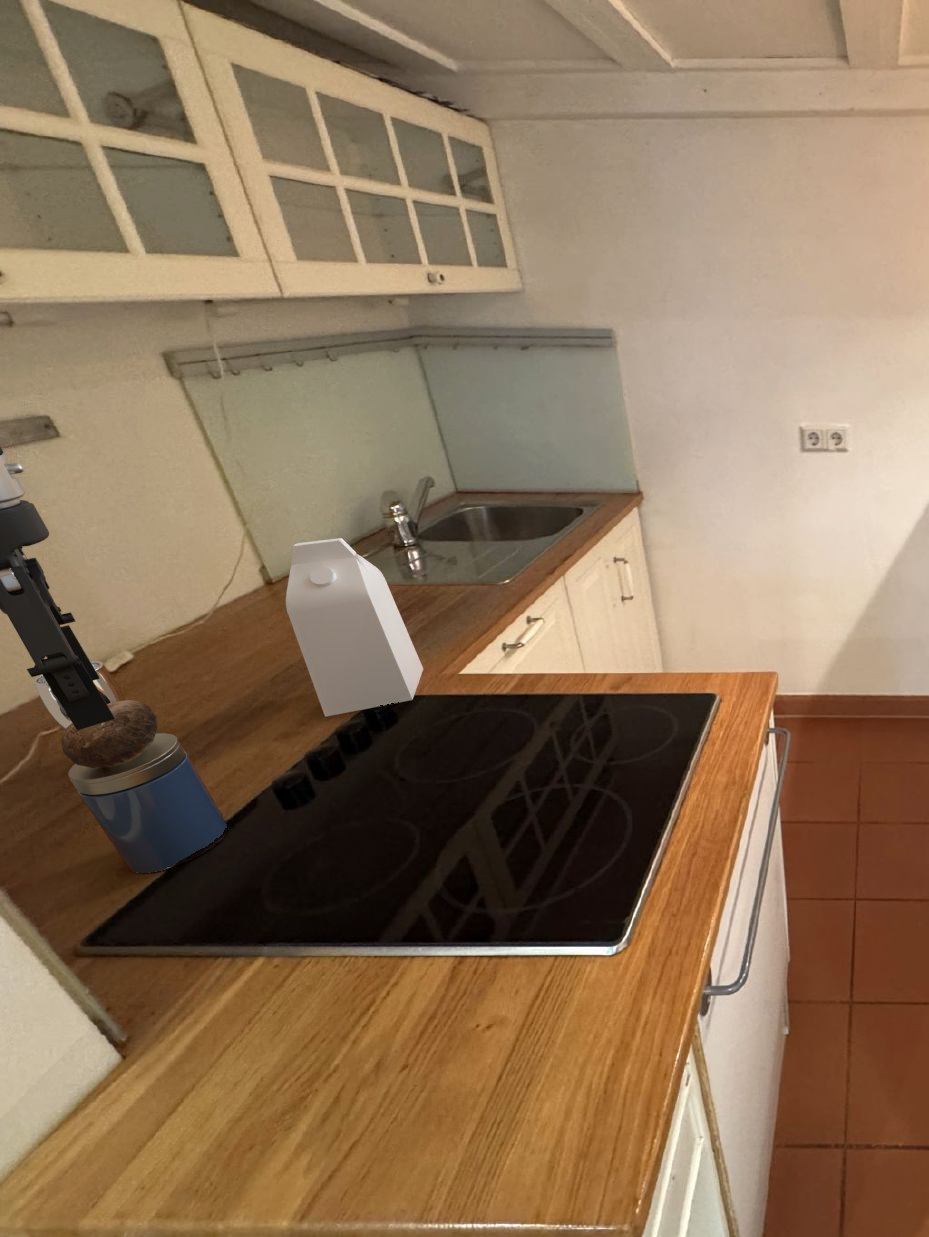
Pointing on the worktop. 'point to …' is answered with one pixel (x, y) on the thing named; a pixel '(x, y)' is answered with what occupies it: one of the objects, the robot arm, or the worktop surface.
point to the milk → (349, 629)
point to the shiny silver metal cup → (104, 684)
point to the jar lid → (130, 768)
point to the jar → (159, 818)
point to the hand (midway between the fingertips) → (89, 702)
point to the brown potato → (112, 736)
